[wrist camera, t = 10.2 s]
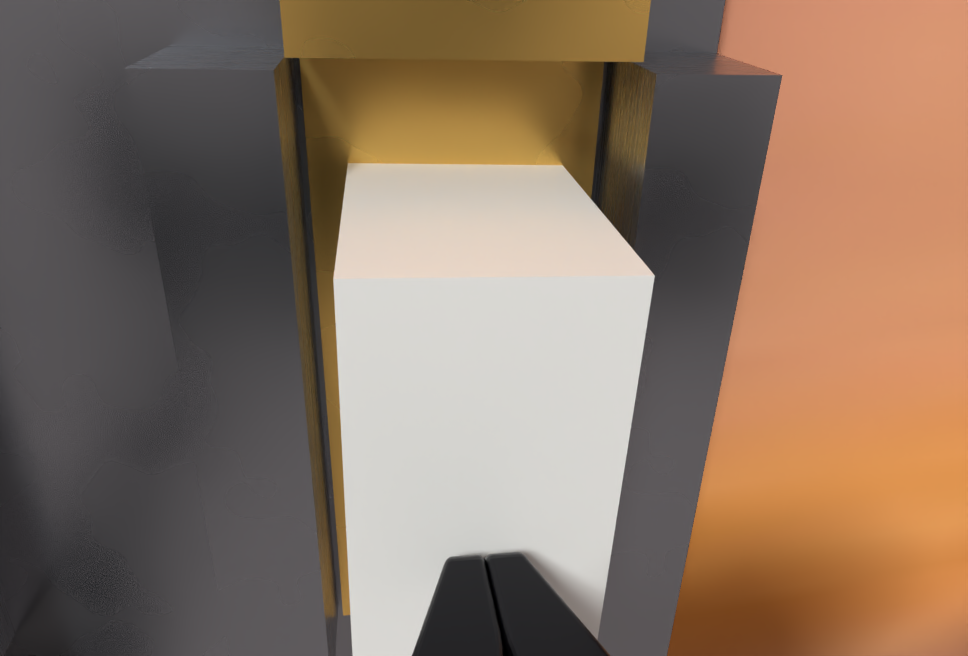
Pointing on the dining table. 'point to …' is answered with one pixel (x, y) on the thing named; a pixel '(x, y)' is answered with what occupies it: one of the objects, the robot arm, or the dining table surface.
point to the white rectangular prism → (480, 382)
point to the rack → (314, 286)
